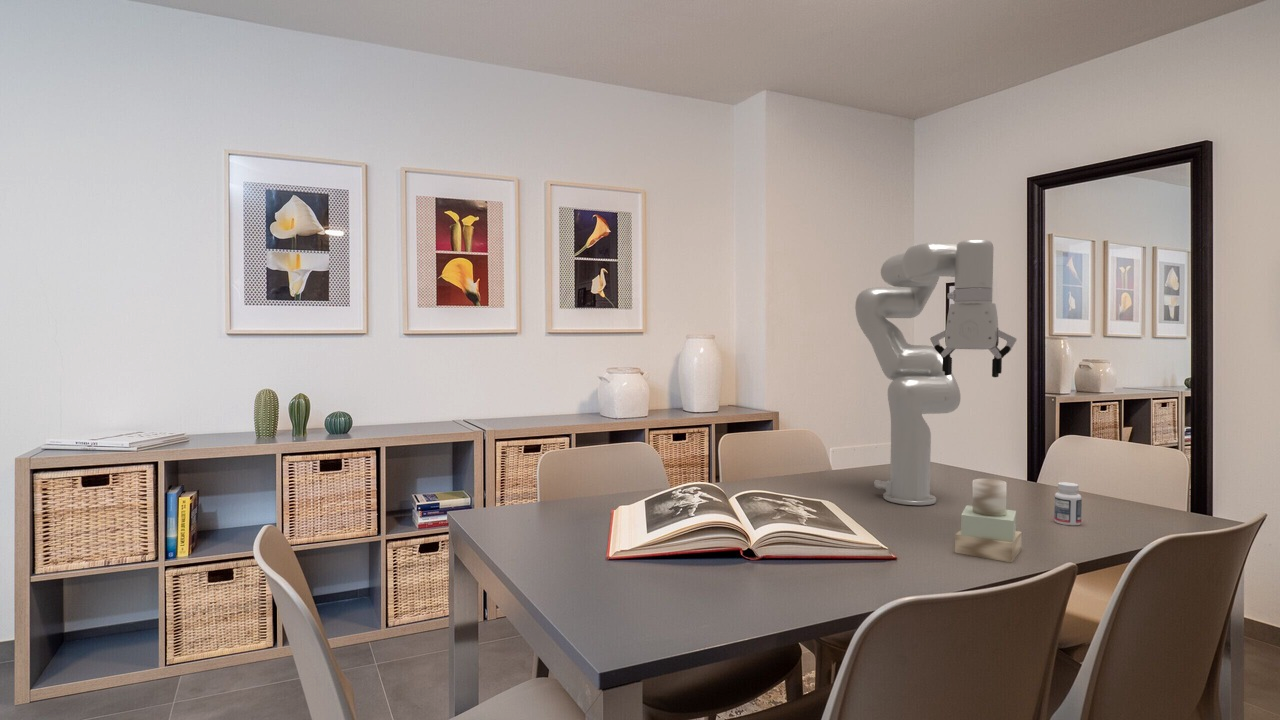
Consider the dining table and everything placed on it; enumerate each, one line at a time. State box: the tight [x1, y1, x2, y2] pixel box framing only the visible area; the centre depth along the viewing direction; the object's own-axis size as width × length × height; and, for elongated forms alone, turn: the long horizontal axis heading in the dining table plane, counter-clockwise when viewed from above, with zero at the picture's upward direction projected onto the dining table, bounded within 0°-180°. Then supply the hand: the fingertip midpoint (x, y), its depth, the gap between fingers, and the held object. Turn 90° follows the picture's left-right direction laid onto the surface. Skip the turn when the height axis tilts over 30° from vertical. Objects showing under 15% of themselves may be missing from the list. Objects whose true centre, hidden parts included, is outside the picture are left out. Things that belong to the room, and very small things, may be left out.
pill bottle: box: [1053, 481, 1083, 526], centre depth 165 cm, size 5×5×9 cm
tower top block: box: [960, 504, 1017, 542], centre depth 143 cm, size 9×9×4 cm
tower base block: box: [954, 529, 1023, 563], centre depth 143 cm, size 10×10×4 cm
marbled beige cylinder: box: [972, 478, 1008, 516], centre depth 143 cm, size 6×6×6 cm
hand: (971, 376), depth 160 cm, fingers open, 9 cm apart
